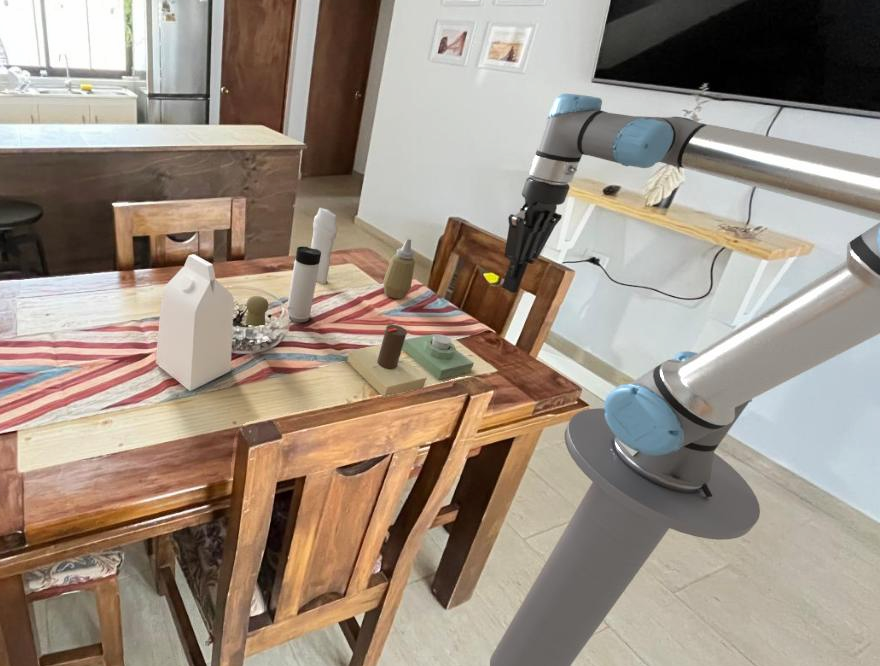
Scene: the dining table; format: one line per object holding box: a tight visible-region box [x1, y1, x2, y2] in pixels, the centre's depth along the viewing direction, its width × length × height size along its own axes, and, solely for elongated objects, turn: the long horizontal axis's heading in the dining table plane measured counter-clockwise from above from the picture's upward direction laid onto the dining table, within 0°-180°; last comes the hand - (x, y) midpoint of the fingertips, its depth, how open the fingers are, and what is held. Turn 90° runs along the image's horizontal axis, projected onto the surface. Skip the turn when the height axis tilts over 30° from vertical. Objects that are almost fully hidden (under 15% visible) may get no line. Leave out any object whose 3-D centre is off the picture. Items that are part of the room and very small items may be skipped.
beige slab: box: [346, 343, 427, 397], centre depth 117 cm, size 14×11×3 cm
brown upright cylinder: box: [377, 324, 408, 369], centre depth 114 cm, size 4×4×9 cm
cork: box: [244, 295, 269, 326], centre depth 124 cm, size 6×6×11 cm
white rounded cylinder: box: [310, 207, 338, 285], centre depth 155 cm, size 11×4×22 cm, turn 29°
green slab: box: [402, 333, 475, 380], centre depth 124 cm, size 13×10×4 cm
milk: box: [155, 253, 235, 392], centre depth 107 cm, size 12×12×26 cm
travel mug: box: [286, 246, 321, 323], centre depth 133 cm, size 6×7×20 cm
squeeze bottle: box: [383, 238, 416, 300], centre depth 151 cm, size 8×8×18 cm
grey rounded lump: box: [432, 333, 452, 350], centre depth 123 cm, size 4×4×2 cm
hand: (509, 289), depth 109 cm, fingers closed
